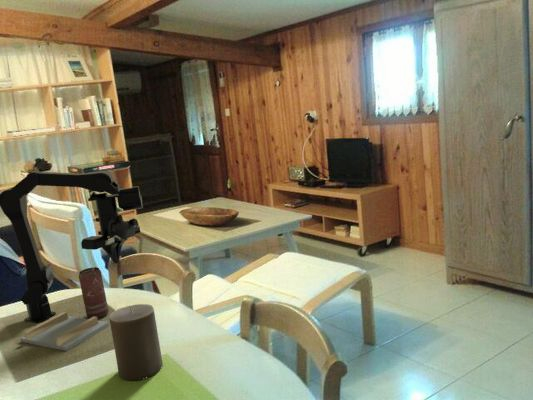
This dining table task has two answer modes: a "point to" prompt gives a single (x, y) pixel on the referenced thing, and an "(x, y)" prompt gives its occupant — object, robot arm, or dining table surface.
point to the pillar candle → (136, 341)
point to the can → (93, 293)
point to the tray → (63, 331)
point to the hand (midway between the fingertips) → (116, 263)
